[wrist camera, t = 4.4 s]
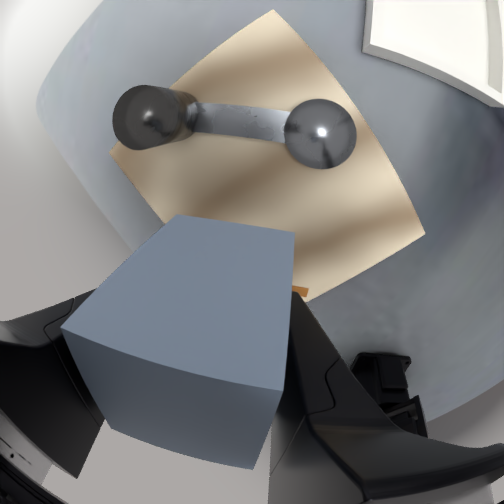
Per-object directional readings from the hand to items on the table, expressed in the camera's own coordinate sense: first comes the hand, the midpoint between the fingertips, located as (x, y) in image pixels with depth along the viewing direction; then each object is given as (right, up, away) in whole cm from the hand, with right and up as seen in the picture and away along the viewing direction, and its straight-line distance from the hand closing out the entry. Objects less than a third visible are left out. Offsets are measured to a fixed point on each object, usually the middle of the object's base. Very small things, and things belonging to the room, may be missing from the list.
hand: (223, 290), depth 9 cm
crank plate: (+2, +6, +11) cm, 13 cm away
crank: (+1, +10, +7) cm, 12 cm away
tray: (+15, +19, +2) cm, 24 cm away
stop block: (0, 0, +1) cm, 1 cm away
